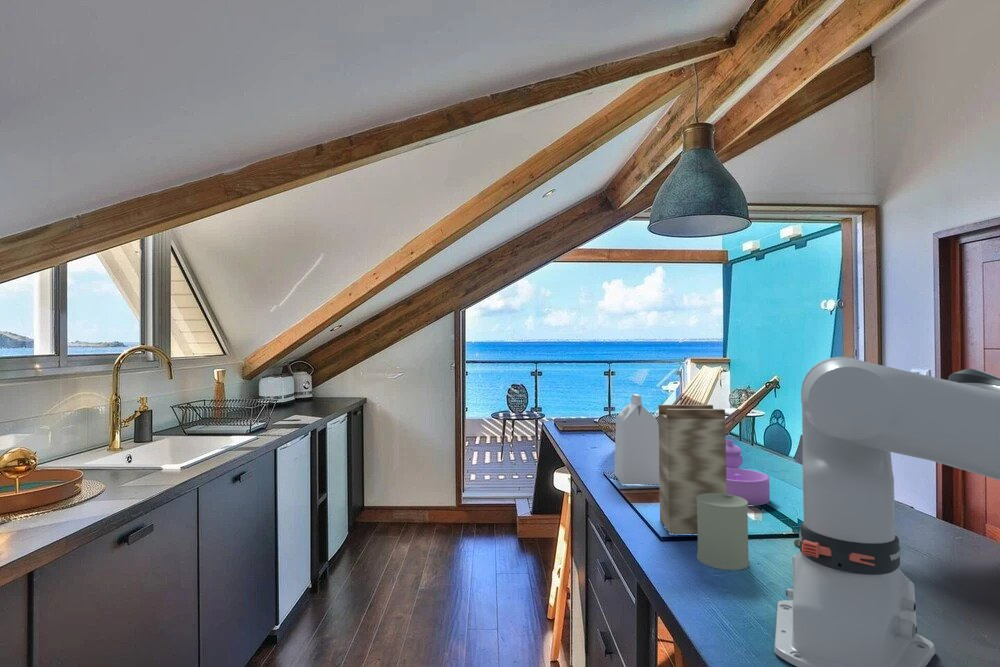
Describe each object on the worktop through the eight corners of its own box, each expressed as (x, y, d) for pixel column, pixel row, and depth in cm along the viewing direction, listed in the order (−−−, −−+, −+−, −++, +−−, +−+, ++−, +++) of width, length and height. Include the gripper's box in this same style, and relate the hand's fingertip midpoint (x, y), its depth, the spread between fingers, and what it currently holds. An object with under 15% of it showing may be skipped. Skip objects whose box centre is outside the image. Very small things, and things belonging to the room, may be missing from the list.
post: (712, 521, 123) (710, 404, 124) (727, 536, 113) (725, 409, 114) (660, 520, 124) (658, 404, 125) (669, 535, 114) (667, 409, 115)
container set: (776, 509, 132) (775, 456, 133) (711, 504, 136) (710, 453, 137) (755, 483, 157) (754, 439, 157) (700, 480, 161) (699, 437, 161)
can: (756, 559, 101) (755, 496, 101) (739, 575, 94) (738, 507, 95) (708, 547, 107) (707, 487, 108) (688, 561, 101) (687, 497, 101)
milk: (662, 486, 154) (661, 396, 155) (622, 486, 155) (621, 396, 155) (651, 476, 166) (650, 393, 167) (614, 476, 167) (613, 393, 167)
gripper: (915, 424, 105) (850, 390, 107) (855, 412, 126) (801, 383, 127) (931, 396, 105) (865, 362, 106) (868, 388, 126) (814, 360, 127)
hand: (830, 374), depth 117 cm, fingers closed on steel bar, 3 cm apart
